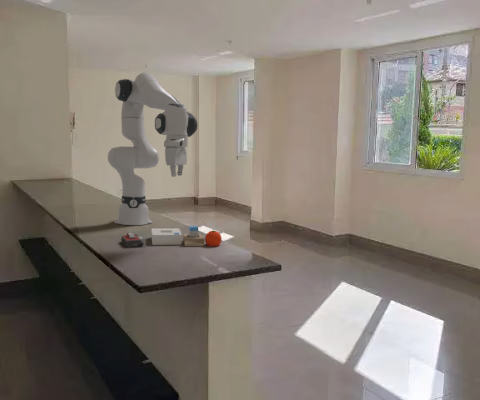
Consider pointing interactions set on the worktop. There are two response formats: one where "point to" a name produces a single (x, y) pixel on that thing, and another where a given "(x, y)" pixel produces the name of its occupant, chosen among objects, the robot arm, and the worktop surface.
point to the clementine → (213, 238)
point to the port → (166, 236)
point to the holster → (193, 240)
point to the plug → (193, 231)
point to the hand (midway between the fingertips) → (176, 176)
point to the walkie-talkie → (132, 240)
